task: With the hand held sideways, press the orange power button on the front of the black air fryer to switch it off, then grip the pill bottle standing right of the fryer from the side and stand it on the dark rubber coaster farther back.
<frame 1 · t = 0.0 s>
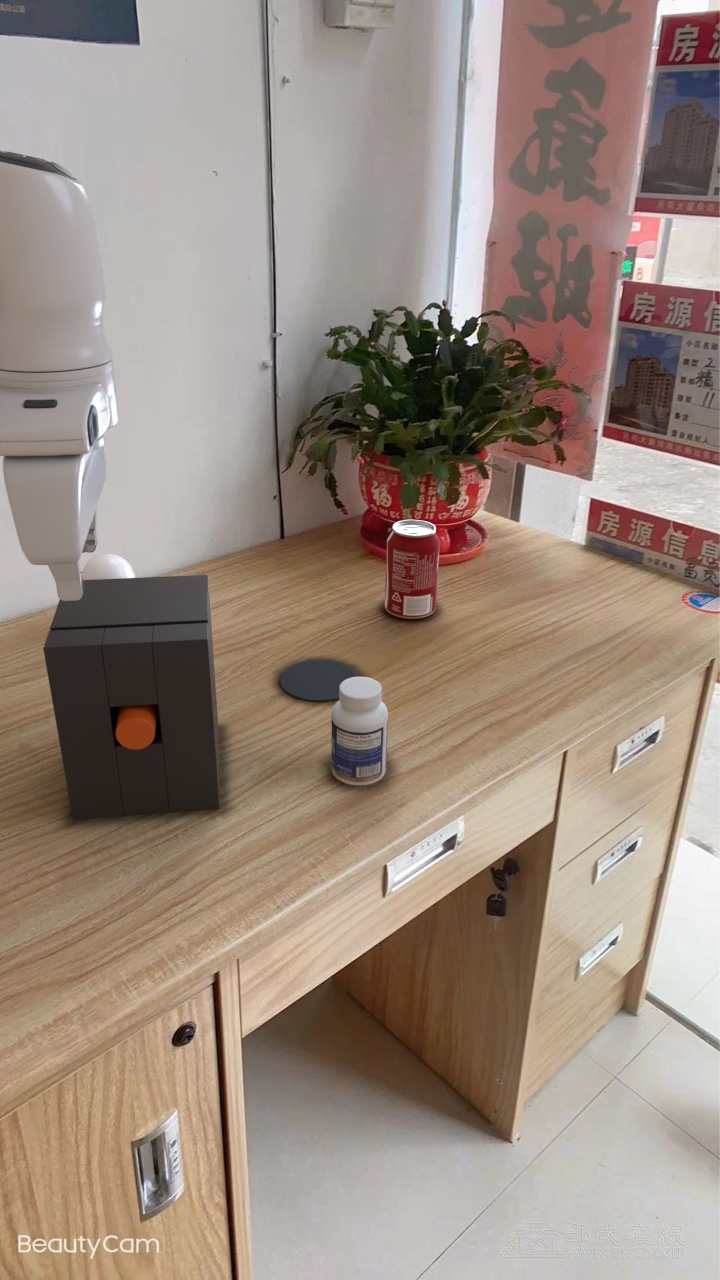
hand: (79, 571, 72), 23 cm above the table, tool pointing down, fingers open, 8 cm apart
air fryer: (151, 774, 85), on the table
lightbulb: (115, 638, 110), on the table
soda can: (409, 613, 118), on the table
coaster: (319, 683, 101), on the table
air fryer button: (136, 723, 75), point 10 cm above the table, slide at -0.1 cm
pill bottle: (358, 773, 87), on the table
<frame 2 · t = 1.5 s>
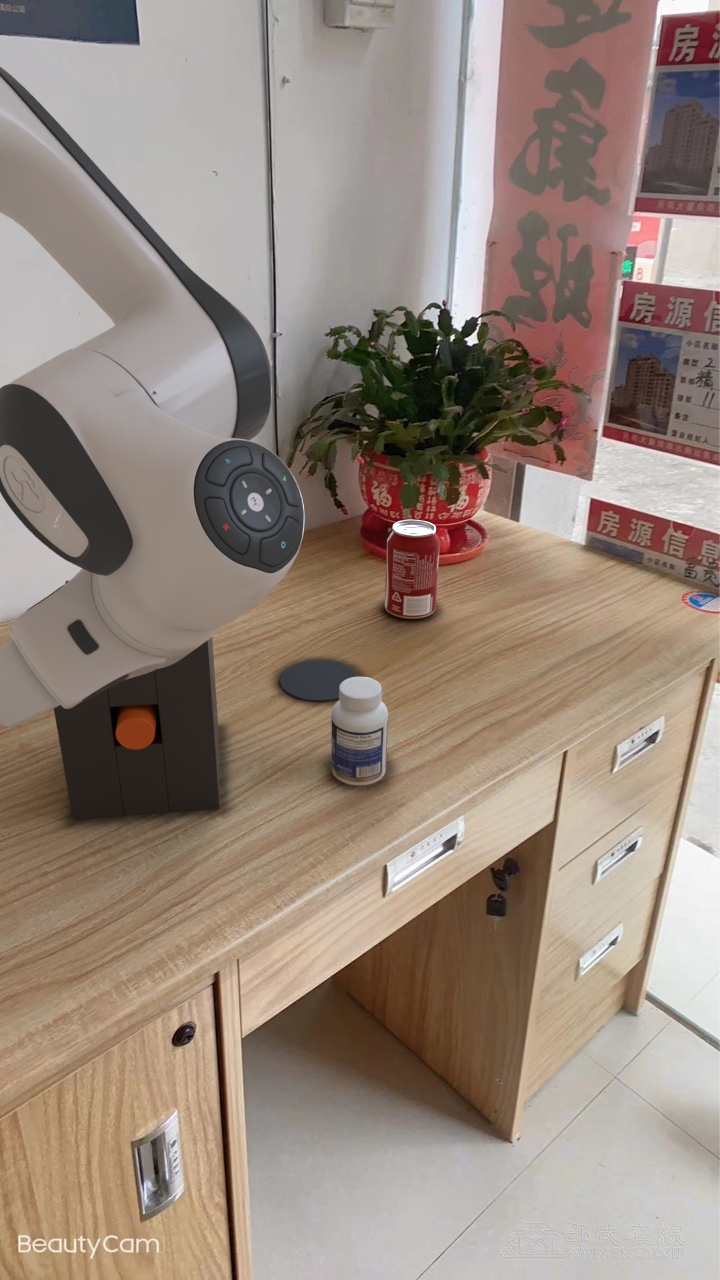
hand: (88, 657, 70), 18 cm above the table, tool tilted 50°, fingers open, 8 cm apart
nothing on the table moved.
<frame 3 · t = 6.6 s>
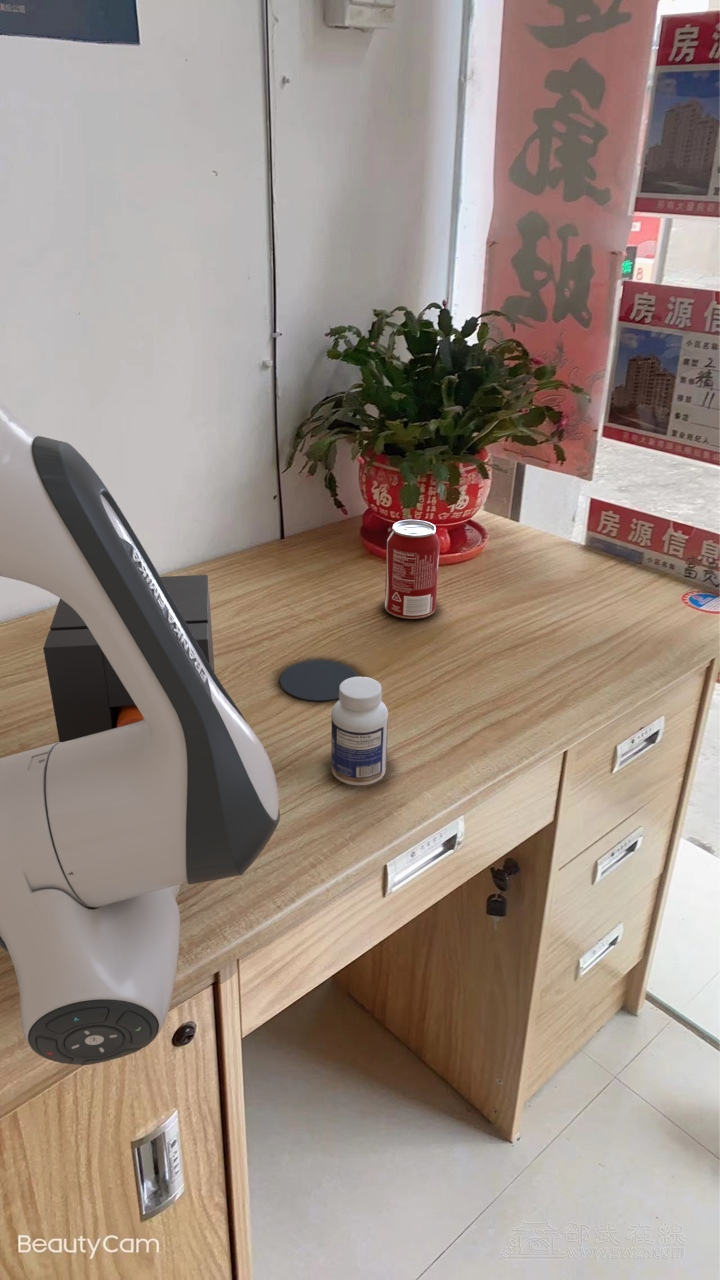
hand: (134, 734, 74), 10 cm above the table, tool horizontal, fingers closed, pressing on air fryer button
air fryer button: (136, 722, 76), point 10 cm above the table, slide at 0.1 cm, touching gripper
everything else where it was.
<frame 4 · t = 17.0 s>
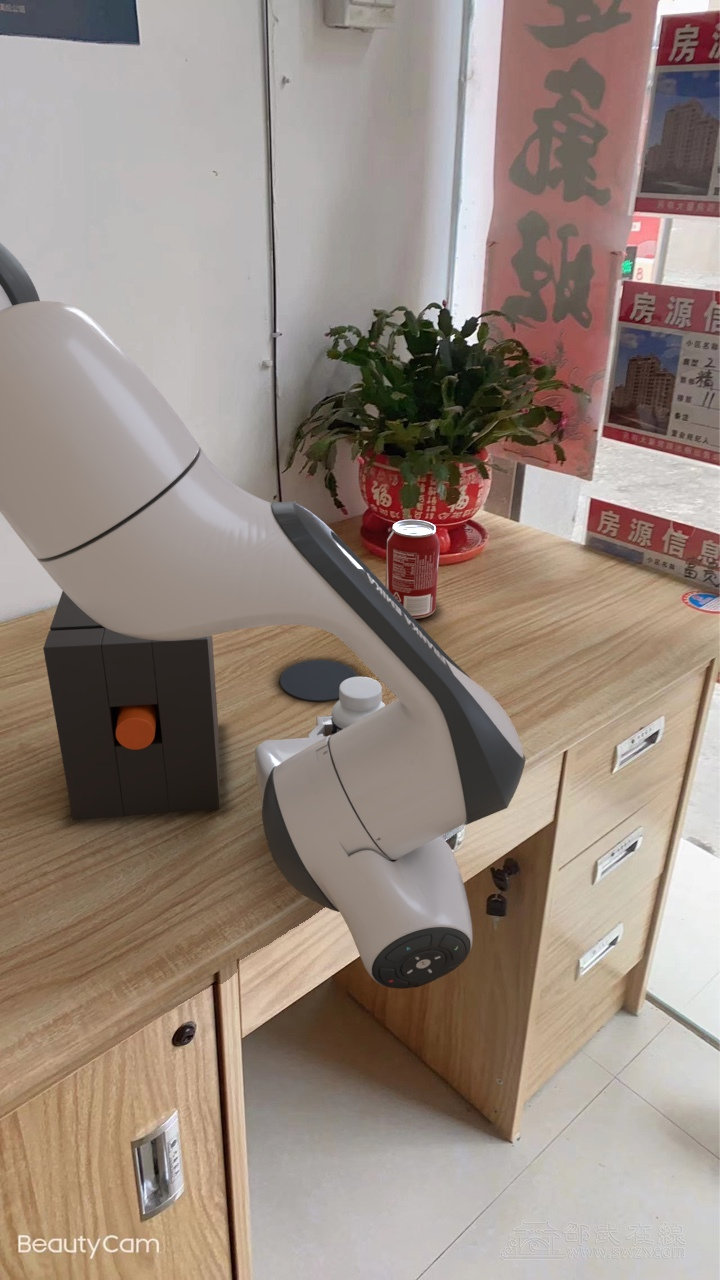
hand: (357, 719, 85), 6 cm above the table, tool horizontal, fingers closed on pill bottle, 5 cm apart
air fryer button: (136, 723, 75), point 10 cm above the table, slide at -0.1 cm
pill bottle: (358, 773, 87), on the table, touching gripper
everything else where it was.
when the fingers open (6 cm above the table, at t = 25.3 s): pill bottle stays where it is, resting on coaster.
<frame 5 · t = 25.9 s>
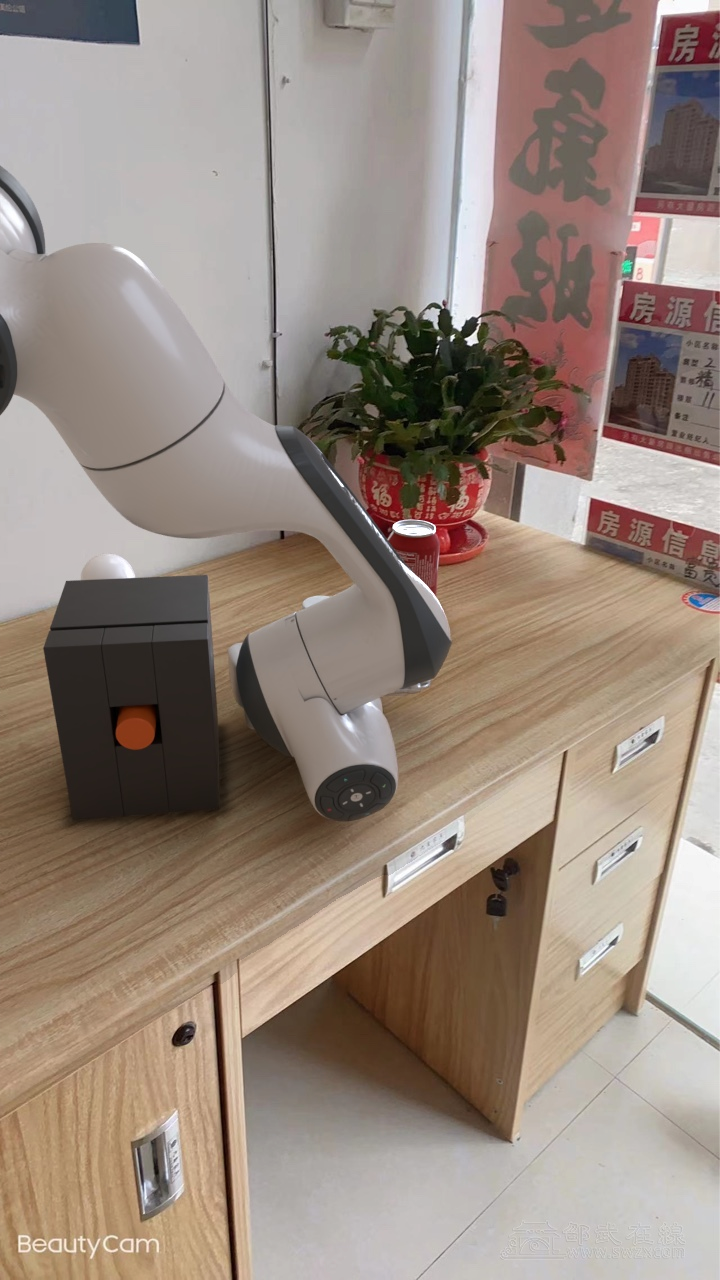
hand: (317, 631, 99), 6 cm above the table, tool horizontal, fingers open, 8 cm apart
pill bottle: (320, 681, 101), resting on coaster
everything else where it was.
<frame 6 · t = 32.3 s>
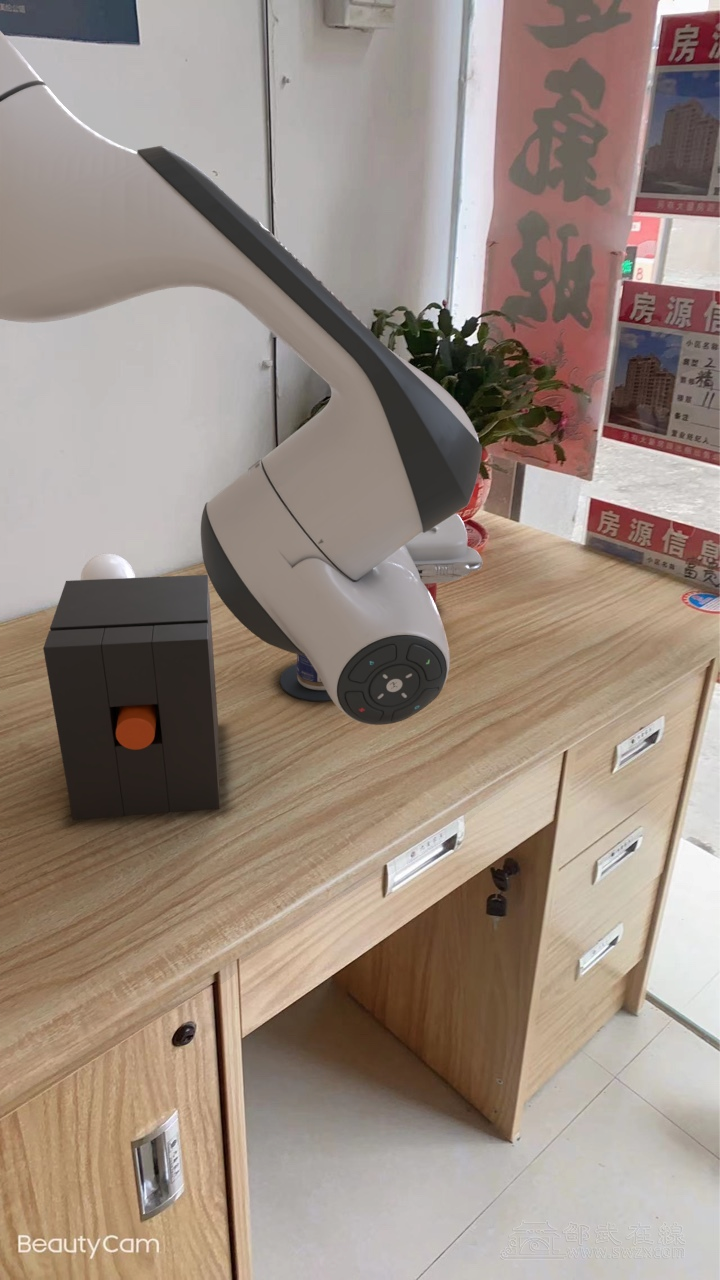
hand: (333, 514, 79), 25 cm above the table, tool horizontal, fingers open, 8 cm apart
nothing on the table moved.
at the end: air fryer button pulled out 1.1 cm at the most during the clip, back to where it started at the end; pill bottle 0.1 cm off-centre on the coaster, point 0.4 cm above the coaster's base; pill bottle tilted 0° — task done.
